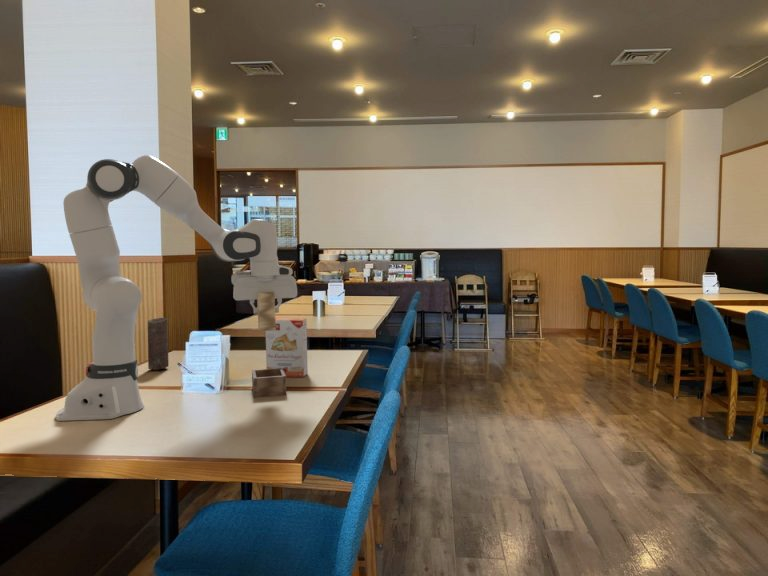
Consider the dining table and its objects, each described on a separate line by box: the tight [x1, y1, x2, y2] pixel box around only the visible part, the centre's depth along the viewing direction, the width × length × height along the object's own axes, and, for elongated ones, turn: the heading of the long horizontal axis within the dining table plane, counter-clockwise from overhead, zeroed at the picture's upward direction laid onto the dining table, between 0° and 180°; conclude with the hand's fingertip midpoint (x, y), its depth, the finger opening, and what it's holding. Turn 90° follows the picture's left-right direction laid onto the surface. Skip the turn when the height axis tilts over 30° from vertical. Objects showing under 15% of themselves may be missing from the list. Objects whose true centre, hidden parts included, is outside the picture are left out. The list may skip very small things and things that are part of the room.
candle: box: [147, 317, 170, 371], centre depth 218 cm, size 8×7×20 cm
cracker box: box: [265, 317, 309, 378], centre depth 204 cm, size 14×6×21 cm, turn 83°
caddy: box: [251, 368, 287, 398], centre depth 182 cm, size 10×13×6 cm
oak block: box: [256, 292, 276, 332], centre depth 180 cm, size 5×8×12 cm, turn 15°
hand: (266, 313), depth 180 cm, fingers closed on oak block, 5 cm apart
